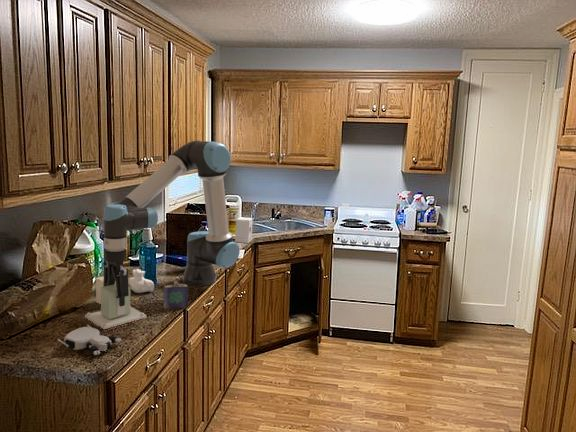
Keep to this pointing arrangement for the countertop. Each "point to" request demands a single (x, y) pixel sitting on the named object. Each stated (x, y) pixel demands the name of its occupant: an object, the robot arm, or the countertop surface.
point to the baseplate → (108, 323)
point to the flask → (175, 296)
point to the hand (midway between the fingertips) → (115, 311)
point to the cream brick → (99, 288)
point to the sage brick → (112, 302)
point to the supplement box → (243, 230)
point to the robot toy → (88, 340)
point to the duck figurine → (140, 282)
